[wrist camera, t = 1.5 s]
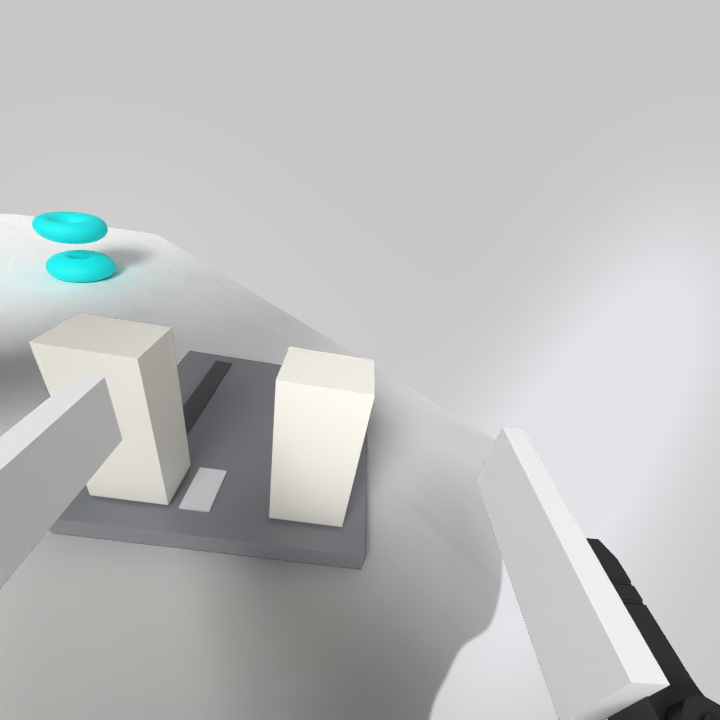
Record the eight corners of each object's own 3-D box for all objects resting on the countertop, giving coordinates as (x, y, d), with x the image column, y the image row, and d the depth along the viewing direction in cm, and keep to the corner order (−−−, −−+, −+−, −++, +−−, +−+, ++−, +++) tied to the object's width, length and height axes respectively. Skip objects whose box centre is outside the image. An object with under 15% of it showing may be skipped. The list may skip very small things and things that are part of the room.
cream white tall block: (342, 527, 28) (374, 395, 21) (269, 517, 28) (275, 380, 20) (345, 486, 32) (374, 360, 24) (280, 477, 31) (289, 346, 24)
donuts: (88, 209, 64) (117, 223, 60) (100, 261, 69) (128, 278, 65) (18, 211, 56) (46, 227, 52) (38, 270, 61) (65, 289, 57)
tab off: (168, 505, 27) (137, 358, 20) (90, 495, 27) (28, 342, 19) (190, 465, 31) (171, 327, 23) (121, 455, 30) (79, 312, 23)
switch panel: (360, 569, 28) (365, 555, 27) (52, 533, 26) (43, 516, 25) (365, 390, 48) (367, 377, 47) (191, 363, 46) (189, 349, 45)
